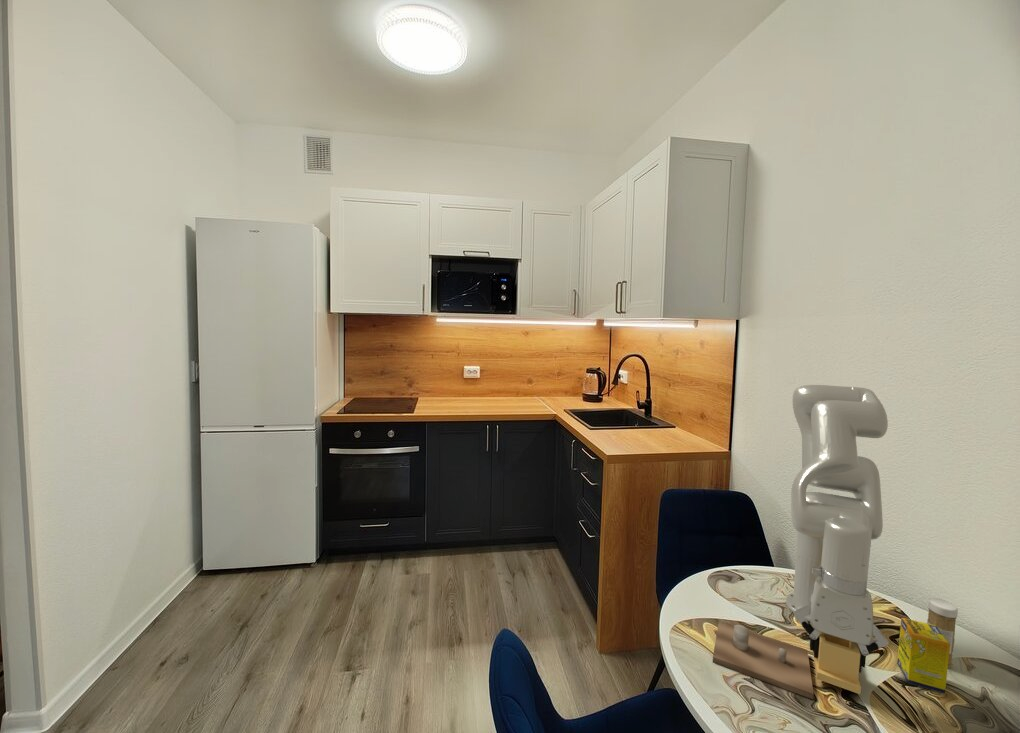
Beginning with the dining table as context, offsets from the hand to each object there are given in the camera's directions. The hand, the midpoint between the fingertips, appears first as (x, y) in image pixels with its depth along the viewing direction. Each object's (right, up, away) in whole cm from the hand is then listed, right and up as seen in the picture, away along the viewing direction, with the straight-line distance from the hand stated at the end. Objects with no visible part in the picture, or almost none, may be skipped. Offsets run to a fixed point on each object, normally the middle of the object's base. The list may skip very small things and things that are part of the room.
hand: (835, 660), depth 89 cm
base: (-13, -3, +5) cm, 14 cm away
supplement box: (+18, -5, +1) cm, 19 cm away
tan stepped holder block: (+2, -2, +3) cm, 4 cm away
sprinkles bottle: (+27, -4, +6) cm, 28 cm away
